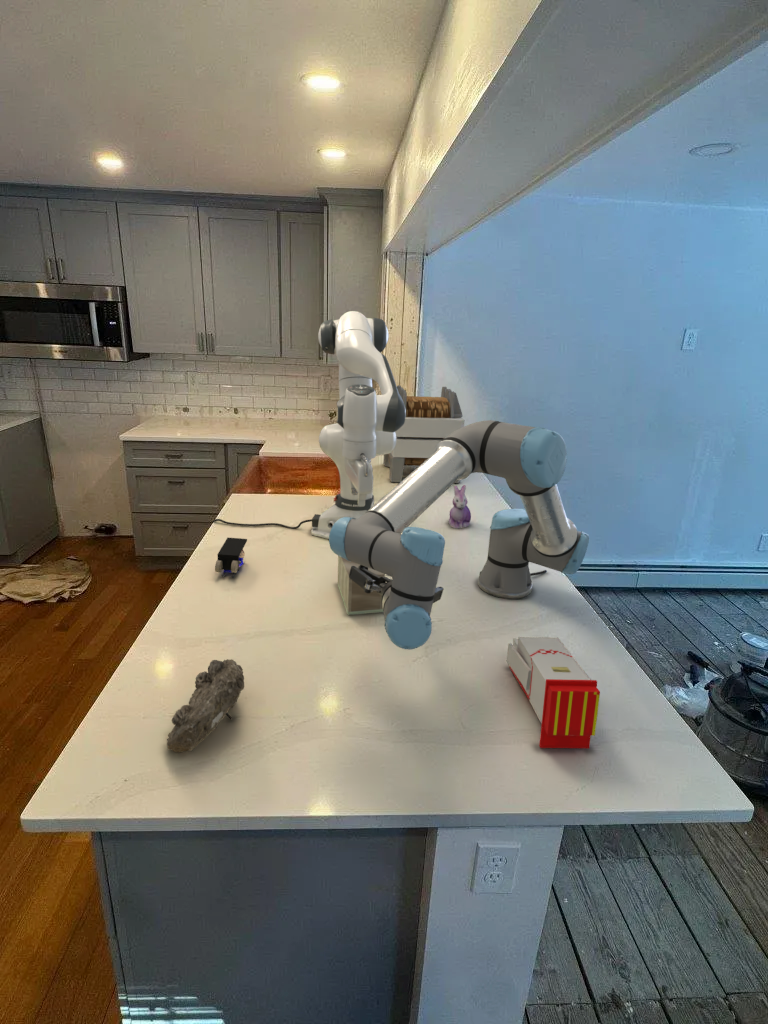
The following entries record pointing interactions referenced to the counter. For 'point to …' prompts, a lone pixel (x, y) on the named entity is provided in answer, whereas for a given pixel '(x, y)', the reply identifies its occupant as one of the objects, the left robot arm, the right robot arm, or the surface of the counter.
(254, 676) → the counter surface
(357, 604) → the chest
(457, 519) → the figurine
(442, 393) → the transformer
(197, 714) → the fossil
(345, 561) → the lid
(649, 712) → the counter surface
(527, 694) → the toy
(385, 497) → the right robot arm
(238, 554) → the figurine character
